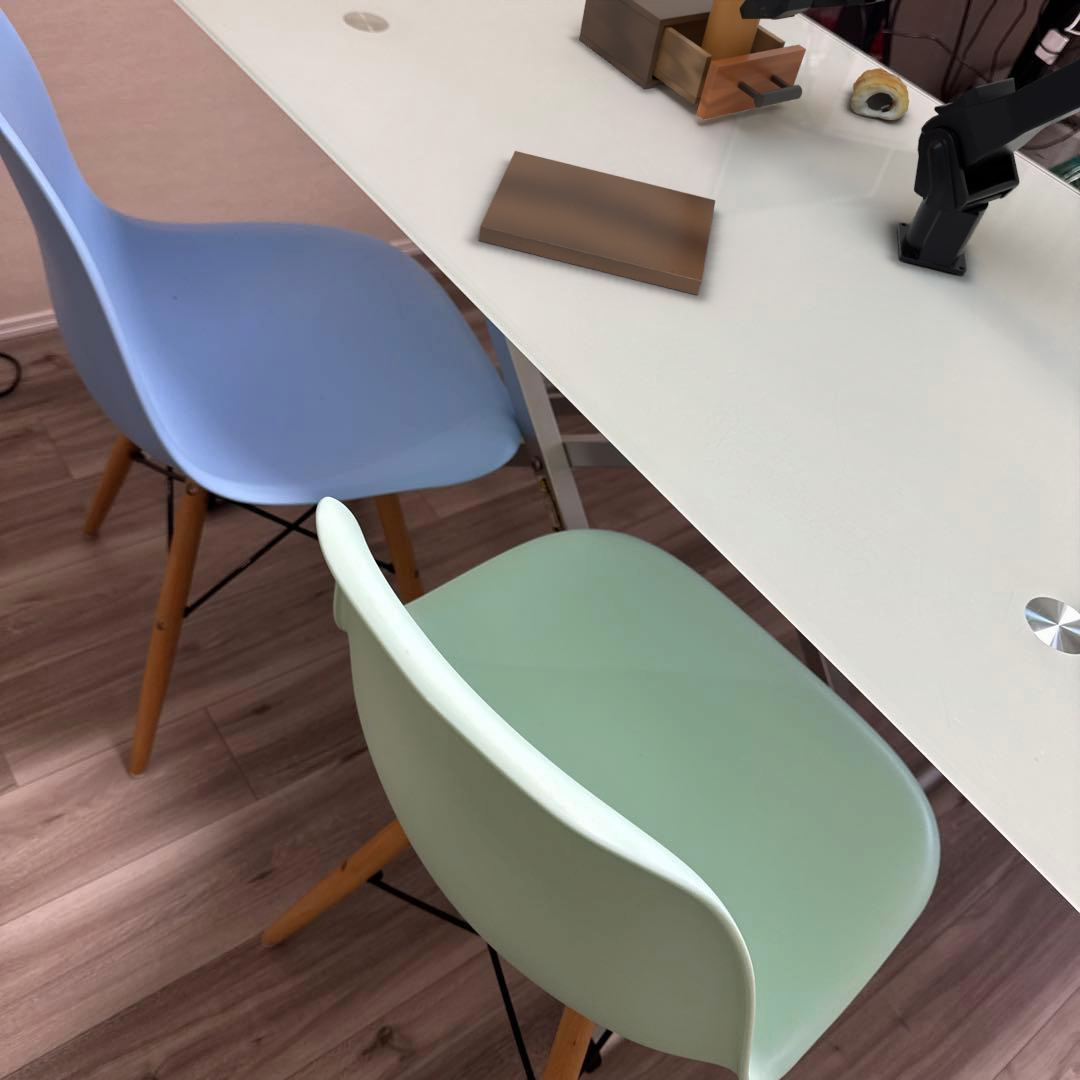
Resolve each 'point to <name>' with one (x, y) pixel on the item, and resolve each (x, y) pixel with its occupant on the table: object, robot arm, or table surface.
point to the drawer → (727, 71)
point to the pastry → (880, 95)
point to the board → (600, 222)
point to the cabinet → (635, 31)
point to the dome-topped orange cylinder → (728, 31)
